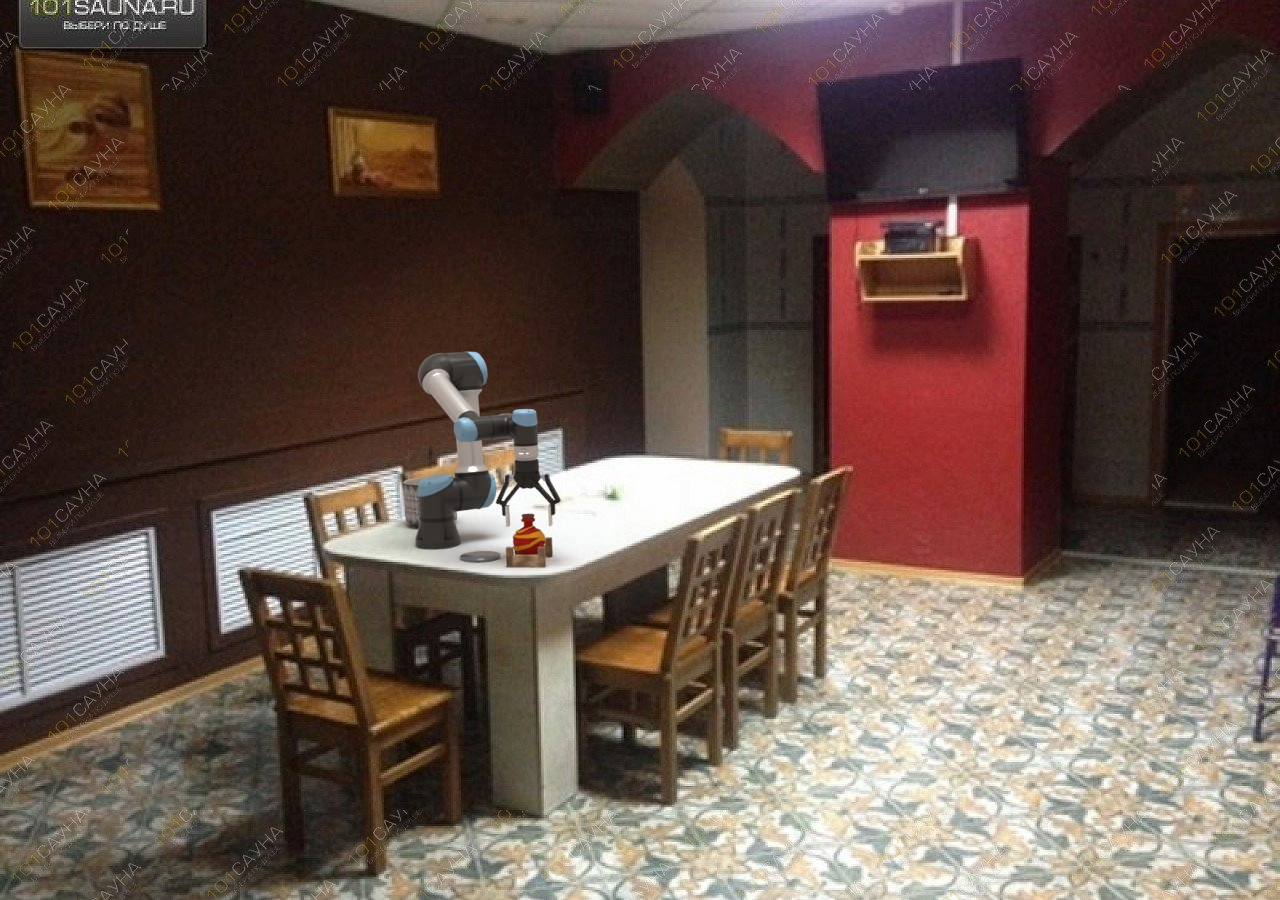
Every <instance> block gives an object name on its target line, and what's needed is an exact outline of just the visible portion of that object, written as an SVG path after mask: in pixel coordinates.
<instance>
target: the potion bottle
mask: <svg viewBox="0 0 1280 900" xmlns="http://www.w3.org/2000/svg"><path fill="white" fill-rule="evenodd" d="M520 521H521V522H522V523H523V527H521V528H519V529H517V530H516V531H515V533H513V535H512V544H513V546H512V547H513V551H515V550H516V551H517V552H518V554H520V555H538V547H544V545H545V542H546V539H545V538H546V536H545V534H544V532H543V531H542V530H541V529H540V528H537V527H536V526H535V525H534V522H536V518H535V514H534V513H523V514H521V519H520Z"/></svg>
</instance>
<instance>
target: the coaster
mask: <svg viewBox="0 0 1280 900" xmlns="http://www.w3.org/2000/svg"><path fill="white" fill-rule="evenodd" d="M500 557H502V555H501V553H500V552H498V551H493V550H478V551H477V550H475V551H474V550H473V551H468V552H464V553H462V554H460V556H459V560H460V561H461V562H466V563H487V562H493V561H498V560H499V559H501V558H500Z"/></svg>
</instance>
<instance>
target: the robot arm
mask: <svg viewBox="0 0 1280 900" xmlns="http://www.w3.org/2000/svg"><path fill="white" fill-rule="evenodd" d="M417 379H418V382H419V385H420V386H421V388H422V389H423V391H425V393H427V394H428V395H432V397H433V398H434V399H435V401H436V402H437V403H438V405H439V406H440V407H441V408H442V409H443V411H444V413H446V414H447V416H448V417H449V418H450V419H451V421H452V422H453V423H454V424H453V433H454V436H455V439H456V450H457V451H456V453H457V464H458V465H457V466H458V467H457V468H456V469H455V470H454V476H453V475H452V474H450V473H441V474H433V475H430V476H425V477H426V478H424V479H422V480H421V481H420V482H419V484H418V500H419V518H420V524H419V526H417V527H418V528H417V532H416V534H415V535H416V536H415V539H414V540H415V541H414V542H415V543H414V544H415V547H417V548H419V549H425V550H426V549H427V550H429V549H430V550H438V549H439V550H440V549H448V548H452V547H456V546H459V545H460V544H461V535H460V532H459V530H458V528H457V524H456V521H454V512H457V513H458V512H465V511H470V510H471V511H472V510H481V509H484V508H485V509H486V508H488V507H490V506H491V505H493V504H494V501H495V503H496V505H499V506H501V512H502V513H501V515H502V516H503V517H505V527H506V528H509V527H510V526H511V516H510V504H508V503H509V502H510V501H511V500H512V498H513V496H515V494H516V493H517V492H518V490H519V489H520V488H521V489H522V490H523V489H530V490H531V489H534V488H535V490H537V491H538V492H539V493H540V495H542V497H543V498H545V501H547V502H548V506H547V510H548V511H547V512H548V513H547V514H548V527H552V526H553V525H554V524H553V516H555V515H556V505H557V504H560V502H561V501H562V500H561V497H560V495H559V494H558V491H557V489H555V486H554V484H553V483H552V480H551V477H550V476H551V475H550V473H548V472H547V473H543V474H540V464H539V463H540V462H539V459H538V458H539V438H538V436H539V435H538V423H539V422H538V419H537V418H538V416H537V411H536V410H535V409H534V408H533V409H531V408H529V409H528V408H523V409H515V410H513V411H512V413H511V412H507V413H501V414H497V415H495V414H494V415H486V416H485V415H484V416H480V402H479V394H480V393H482V391H483V386H484V385H485V384H487V380H488V367H487V364H486V362H485V360H484V358H483V357H482V355H481V354H480V353H479V352H476V351H459V352H457V351H456V352H438V353H437V352H436V353H434V354H431V355H429V356H428V357H426V358H425V359H424V360H423V361H422V362H421V364H420V366H419V369H418V372H417ZM501 439H502V440H503V439H513V456H514V459H515V460H514V475H512V474H510V473H507V474H506V475H504V482H503V485H502V488H501V489H500V492H499V494H498V496H497V482H496V481H497V480H496V479H495V476H494V475H493V474H491V473H489V468H488V467H487V466H486V465H485V463H484V454H483V453H484V452H483V443H482V442H483V441H488V440H501ZM541 479H542V481H543V482H545V485H546V486H547V488H548V489H549V492H550V494H551V495H552V496H551V495H550V494H549V493H548V492H547V491H546V489H544V487H543V486H542V484H540V483H539V482H540V480H541ZM513 480H514V481H515V482H516V484H515V486H514V487H513V488H512V490H511V491H510V492H509V493H508V494H507V496H506V497H505V499H504V500H503V498H504V496H505V494H506V491H507V489H508V487H509V485H510V483H511V482H512V481H513ZM496 496H497V498H496ZM495 499H496V500H495Z"/></svg>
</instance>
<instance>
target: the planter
mask: <svg viewBox="0 0 1280 900" xmlns="http://www.w3.org/2000/svg"><path fill="white" fill-rule="evenodd" d="M426 477H427V476H423V477H416V478H415V477H414V478H410V479H409V478H408V479H406V480H404V481H403V482H402V483H403V495H404V496H403V497H404V498H403V499H404V510H405V521H406V523H407V524H409V525H412V526H417V527H419V524H420V518H419V500H418V484H419V482H420V481H421V480H422V479H424V478H426ZM457 519H458V511H457V512H454V521H455V522H456V520H457Z"/></svg>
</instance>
